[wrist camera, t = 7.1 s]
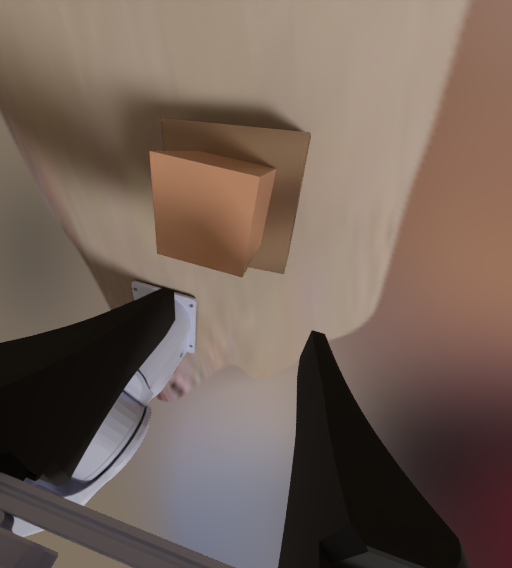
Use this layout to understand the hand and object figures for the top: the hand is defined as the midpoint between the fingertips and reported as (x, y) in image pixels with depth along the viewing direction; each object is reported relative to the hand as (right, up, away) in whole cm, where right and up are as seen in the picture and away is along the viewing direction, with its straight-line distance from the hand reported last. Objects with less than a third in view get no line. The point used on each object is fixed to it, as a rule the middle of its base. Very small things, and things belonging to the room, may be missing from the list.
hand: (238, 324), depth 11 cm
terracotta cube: (-1, +8, +4) cm, 9 cm away
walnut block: (0, +9, +7) cm, 12 cm away
